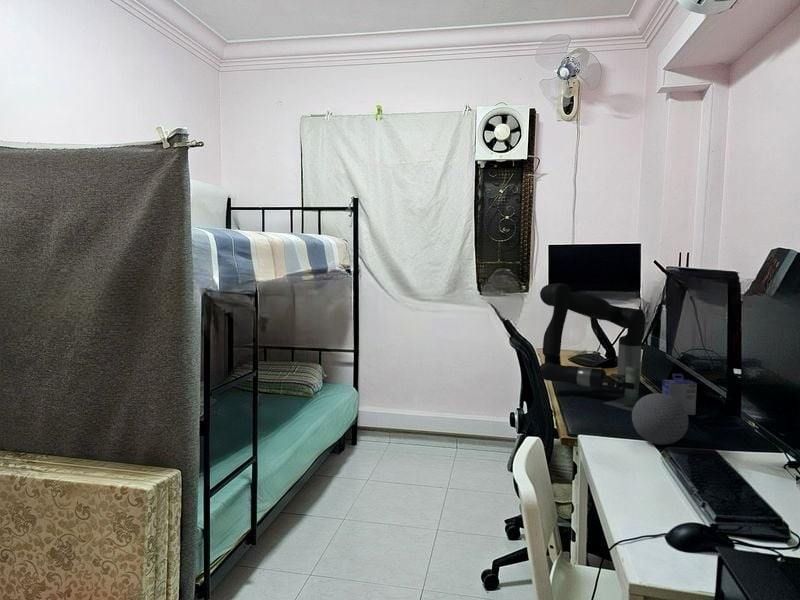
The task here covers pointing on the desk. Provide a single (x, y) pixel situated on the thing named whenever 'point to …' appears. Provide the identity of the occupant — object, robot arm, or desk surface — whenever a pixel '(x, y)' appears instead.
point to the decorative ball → (660, 419)
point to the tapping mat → (619, 404)
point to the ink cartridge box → (681, 392)
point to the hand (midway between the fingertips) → (636, 384)
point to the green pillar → (630, 394)
